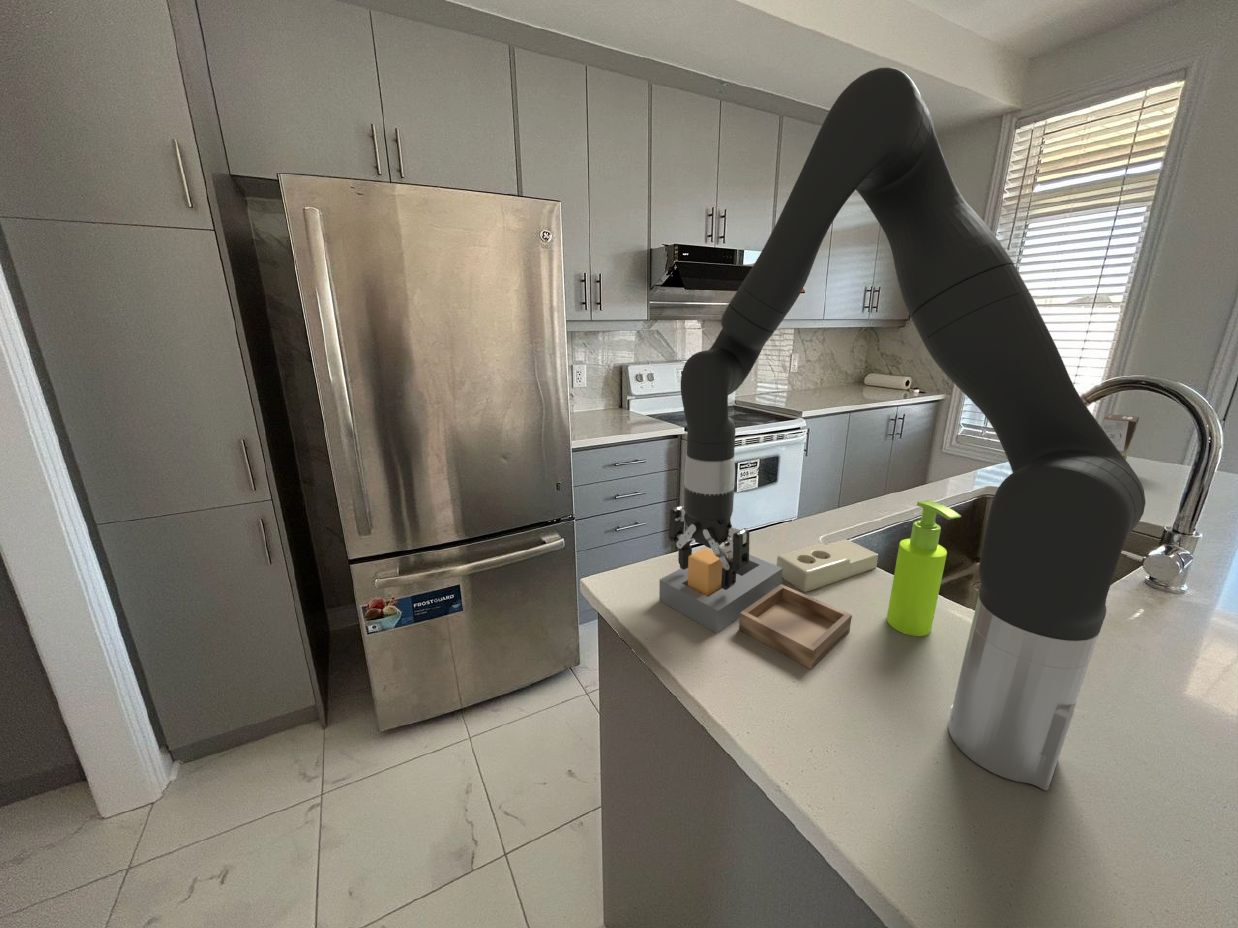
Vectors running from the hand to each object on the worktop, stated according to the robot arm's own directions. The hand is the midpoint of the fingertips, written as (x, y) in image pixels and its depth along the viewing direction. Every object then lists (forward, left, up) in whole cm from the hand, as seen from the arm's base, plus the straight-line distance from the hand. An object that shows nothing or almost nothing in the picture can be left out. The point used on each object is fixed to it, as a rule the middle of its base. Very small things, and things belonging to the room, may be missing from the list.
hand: (705, 576), depth 78 cm
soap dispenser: (-25, -18, -5) cm, 32 cm away
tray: (-14, -4, -5) cm, 15 cm away
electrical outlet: (-8, -25, -6) cm, 27 cm away
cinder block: (0, -4, -5) cm, 7 cm away
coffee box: (-37, -134, -5) cm, 140 cm away
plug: (0, 0, -5) cm, 5 cm away
